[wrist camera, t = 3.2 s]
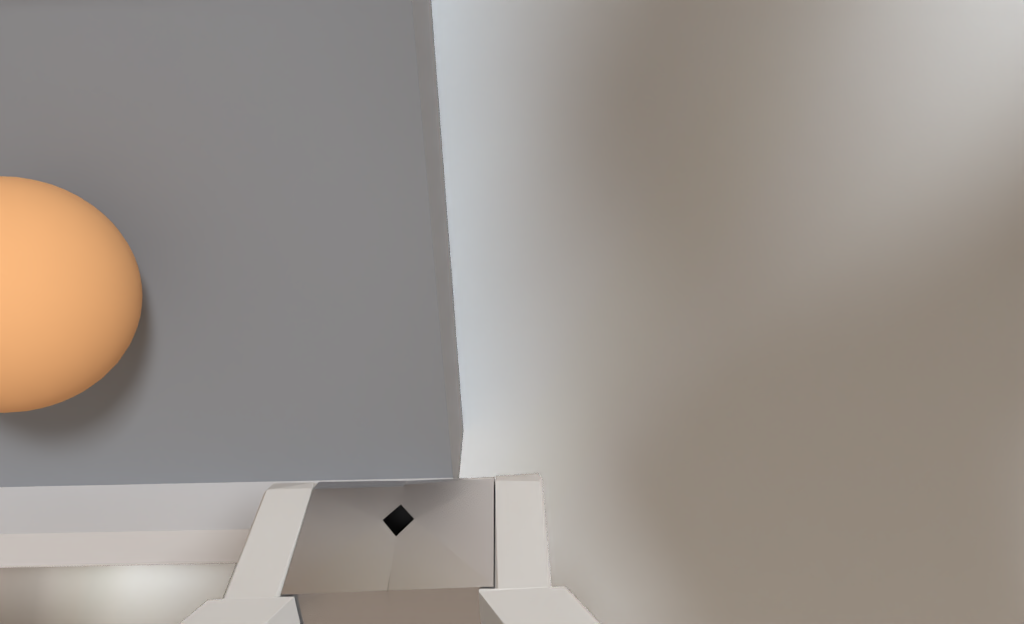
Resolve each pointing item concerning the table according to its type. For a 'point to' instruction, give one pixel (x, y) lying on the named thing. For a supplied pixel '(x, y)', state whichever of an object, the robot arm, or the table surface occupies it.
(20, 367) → the ball
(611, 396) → the table surface
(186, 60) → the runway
